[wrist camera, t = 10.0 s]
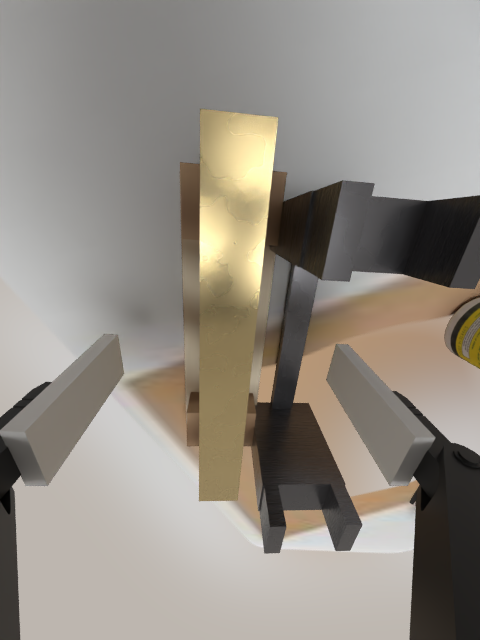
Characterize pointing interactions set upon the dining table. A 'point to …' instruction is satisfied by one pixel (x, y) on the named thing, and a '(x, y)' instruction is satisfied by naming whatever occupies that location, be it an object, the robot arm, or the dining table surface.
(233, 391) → the rail
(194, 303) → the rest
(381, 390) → the robot arm
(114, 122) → the dining table surface
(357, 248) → the rack
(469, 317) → the pill bottle
